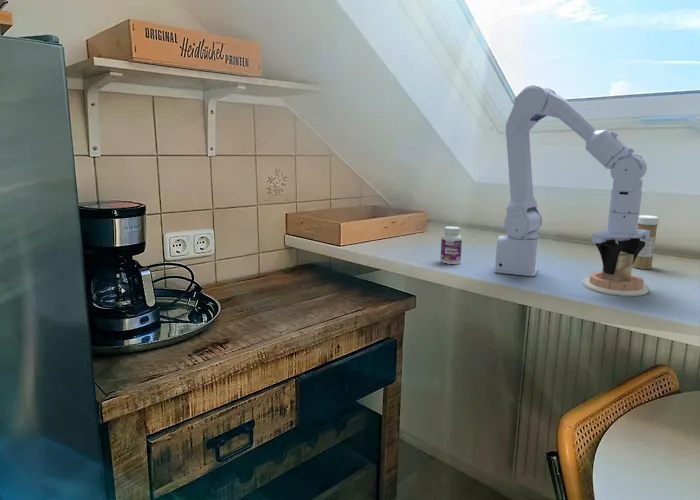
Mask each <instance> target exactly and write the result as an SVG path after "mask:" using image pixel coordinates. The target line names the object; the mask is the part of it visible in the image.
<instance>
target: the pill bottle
mask: <svg viewBox="0 0 700 500" xmlns="http://www.w3.org/2000/svg"><path fill="white" fill-rule="evenodd" d="M460 232H461V228H460V227H459V226H452V225H451V226H449V225H448V226H445V227H444V234H442V236H441V243H440V244H441V245H440V263H442V262H443V263H442V264H444V263H447V264H446V265H450V264H455V265H459V264H460V263H461V260H462V243H463V238H462V235H461V234H460ZM458 263H459V264H458Z"/></svg>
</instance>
